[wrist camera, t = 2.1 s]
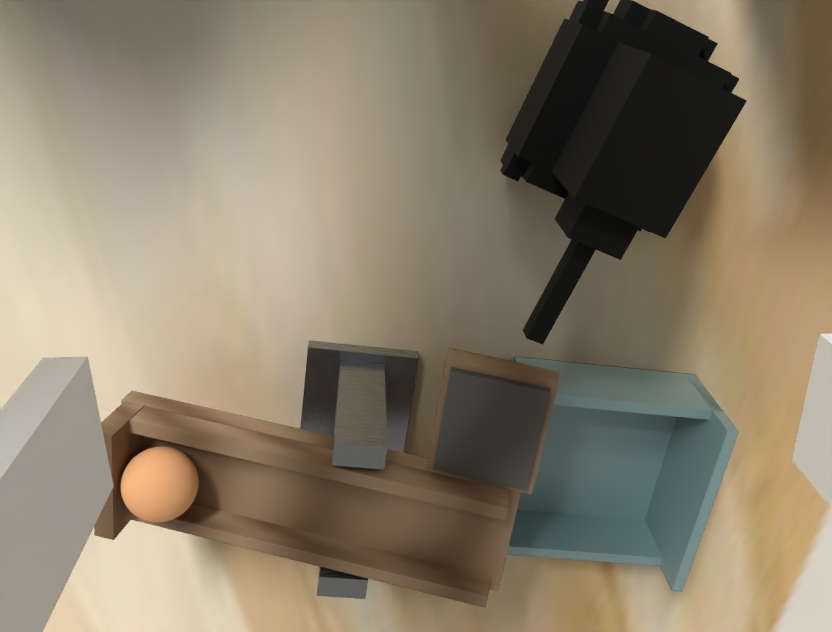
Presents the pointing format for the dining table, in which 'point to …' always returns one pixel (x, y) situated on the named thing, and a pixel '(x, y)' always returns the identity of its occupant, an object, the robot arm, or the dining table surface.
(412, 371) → the stand
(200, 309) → the dining table surface
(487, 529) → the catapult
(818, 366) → the robot arm
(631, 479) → the tray
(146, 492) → the ball
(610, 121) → the toy
